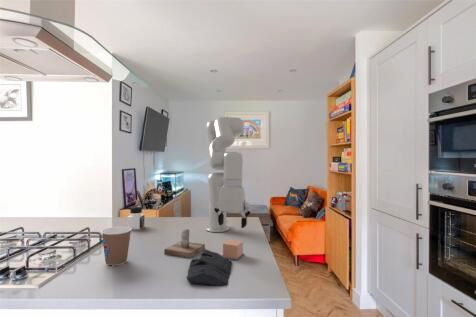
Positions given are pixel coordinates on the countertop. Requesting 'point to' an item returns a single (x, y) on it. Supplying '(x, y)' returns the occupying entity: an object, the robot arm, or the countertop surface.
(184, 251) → the square brown stand
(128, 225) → the medicine bottle
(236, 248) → the peach colored cube
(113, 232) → the coffee cup
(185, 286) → the countertop surface
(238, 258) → the mat
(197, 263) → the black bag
